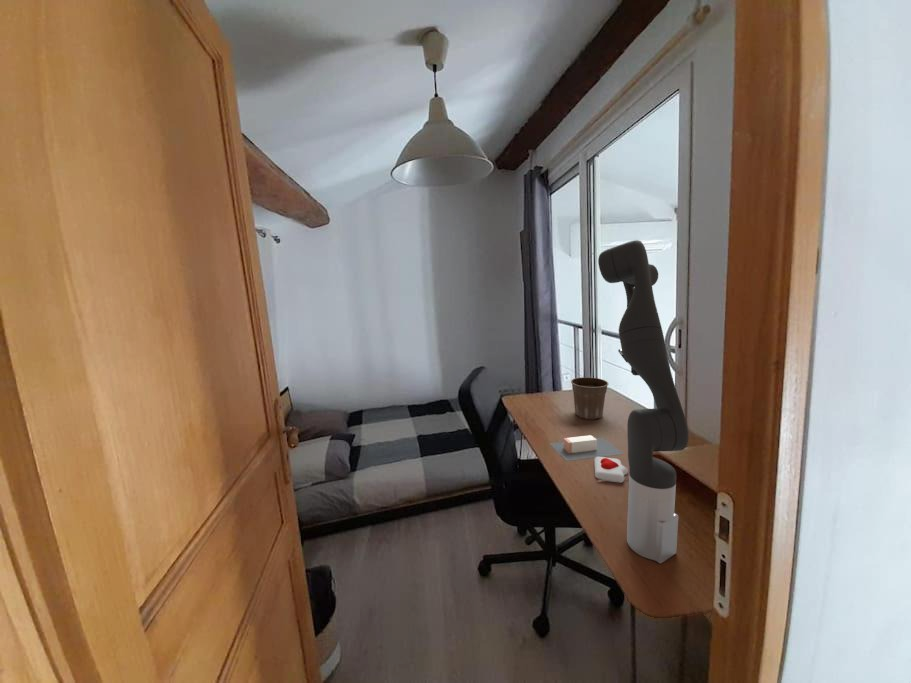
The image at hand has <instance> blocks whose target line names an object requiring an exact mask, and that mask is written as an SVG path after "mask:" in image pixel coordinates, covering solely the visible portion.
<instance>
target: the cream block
mask: <svg viewBox="0 0 911 683" xmlns="http://www.w3.org/2000/svg"><path fill="white" fill-rule="evenodd" d="M595 438H596V437H594V436H593V435H592V434H589V435H588V434H587V435H581V436H579V435H578V436H573V437H572V436H571V437H564V438H563V442H564V449H565V450H566V451H567V452H568V453H575V452H583V451H592V450H597V439H595Z"/></svg>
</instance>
